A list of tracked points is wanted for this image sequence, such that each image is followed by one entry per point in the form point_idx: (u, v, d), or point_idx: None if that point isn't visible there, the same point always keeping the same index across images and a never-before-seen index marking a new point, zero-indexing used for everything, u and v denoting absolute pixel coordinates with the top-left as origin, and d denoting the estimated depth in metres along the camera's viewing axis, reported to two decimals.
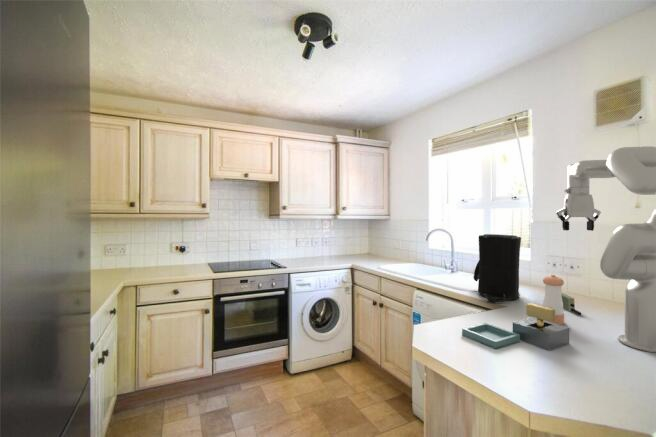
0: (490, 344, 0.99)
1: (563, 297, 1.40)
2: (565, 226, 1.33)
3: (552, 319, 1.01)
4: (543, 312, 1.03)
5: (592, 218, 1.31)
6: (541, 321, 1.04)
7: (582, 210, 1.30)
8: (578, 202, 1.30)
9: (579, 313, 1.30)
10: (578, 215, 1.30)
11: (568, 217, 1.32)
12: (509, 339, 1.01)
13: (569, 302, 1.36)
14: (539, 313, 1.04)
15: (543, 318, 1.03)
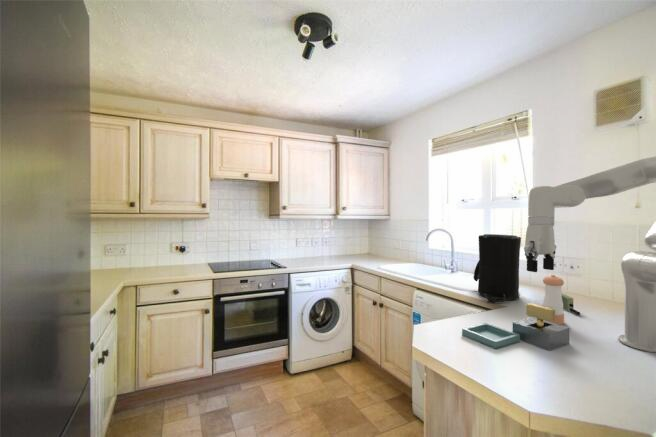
0: (490, 344, 0.99)
1: (562, 297, 1.40)
2: None
3: (552, 319, 1.01)
4: (543, 312, 1.03)
5: None
6: (541, 321, 1.04)
7: None
8: None
9: (578, 313, 1.31)
10: None
11: None
12: (509, 339, 1.01)
13: (568, 302, 1.36)
14: (539, 313, 1.04)
15: (543, 318, 1.03)
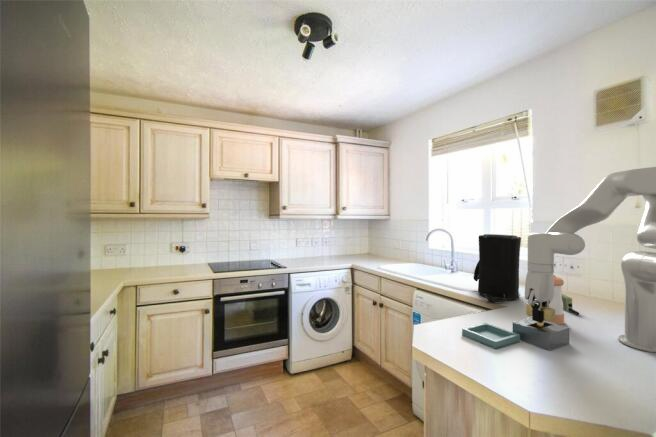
0: (490, 344, 0.99)
1: None
2: None
3: (552, 319, 1.01)
4: (543, 312, 1.03)
5: None
6: None
7: None
8: None
9: (577, 313, 1.31)
10: None
11: None
12: (509, 339, 1.01)
13: (567, 302, 1.36)
14: None
15: (543, 318, 1.03)
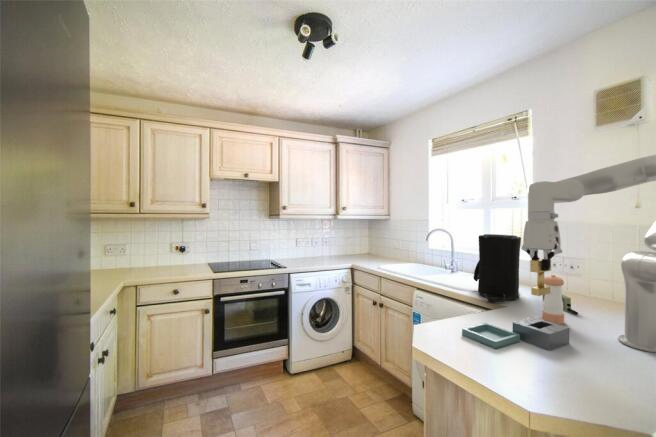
0: (490, 344, 0.99)
1: None
2: None
3: (532, 270, 1.03)
4: None
5: None
6: (537, 273, 1.05)
7: None
8: None
9: (576, 313, 1.31)
10: None
11: None
12: (509, 339, 1.01)
13: (565, 302, 1.36)
14: None
15: None
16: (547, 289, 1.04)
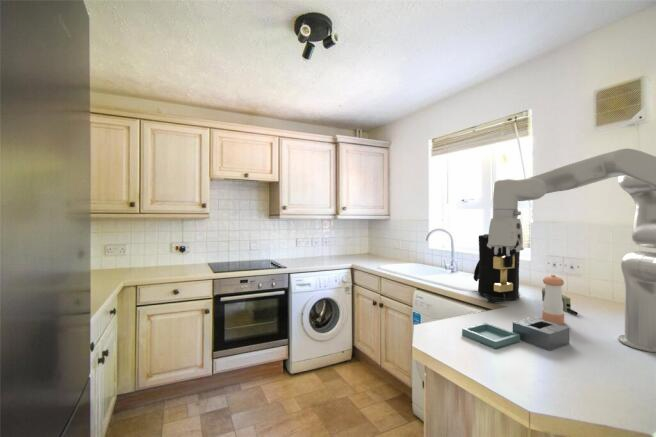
0: (490, 344, 0.99)
1: None
2: None
3: (495, 266, 1.05)
4: None
5: None
6: None
7: None
8: None
9: (575, 313, 1.31)
10: None
11: None
12: (509, 339, 1.01)
13: (565, 302, 1.36)
14: None
15: None
16: (509, 286, 1.06)
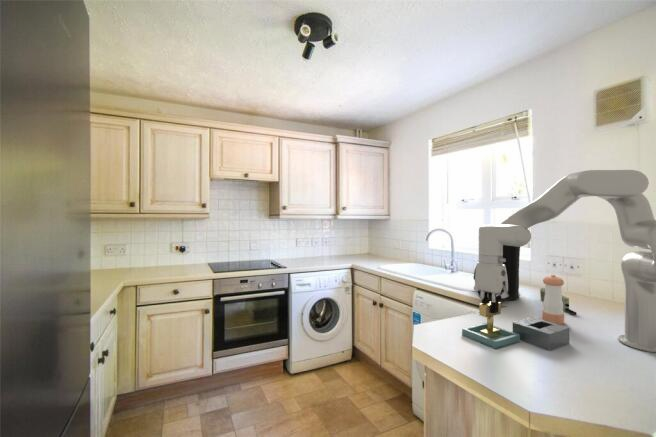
0: (490, 344, 0.99)
1: None
2: None
3: (481, 313, 1.05)
4: None
5: None
6: (487, 316, 1.07)
7: None
8: None
9: (574, 313, 1.31)
10: None
11: None
12: (509, 339, 1.01)
13: (564, 302, 1.36)
14: None
15: None
16: (496, 332, 1.06)
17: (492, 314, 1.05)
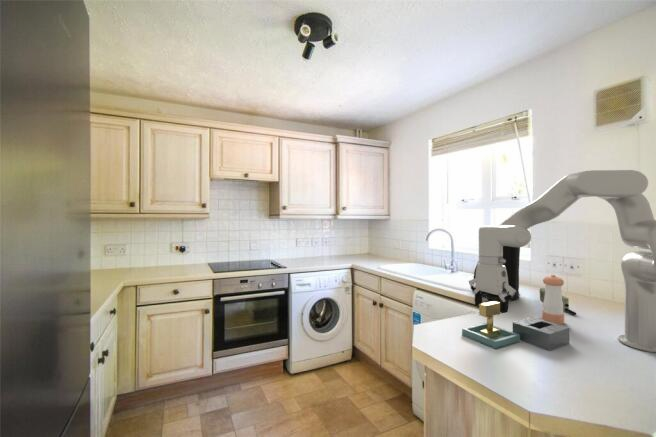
0: (490, 344, 0.99)
1: None
2: None
3: (481, 313, 1.05)
4: None
5: None
6: (486, 316, 1.07)
7: None
8: None
9: (574, 313, 1.31)
10: None
11: None
12: (509, 339, 1.01)
13: (563, 302, 1.36)
14: None
15: None
16: (496, 332, 1.06)
17: (492, 314, 1.05)
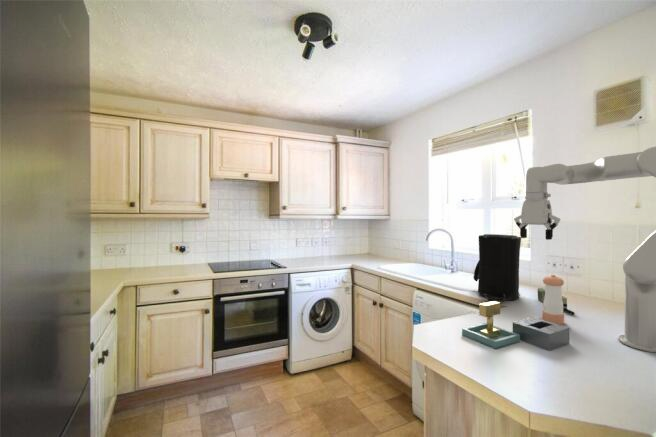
0: (490, 344, 0.99)
1: None
2: None
3: (481, 313, 1.05)
4: None
5: None
6: (486, 316, 1.07)
7: None
8: None
9: (572, 313, 1.31)
10: None
11: None
12: (509, 339, 1.01)
13: None
14: None
15: None
16: (496, 332, 1.06)
17: (492, 314, 1.05)
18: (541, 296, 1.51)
